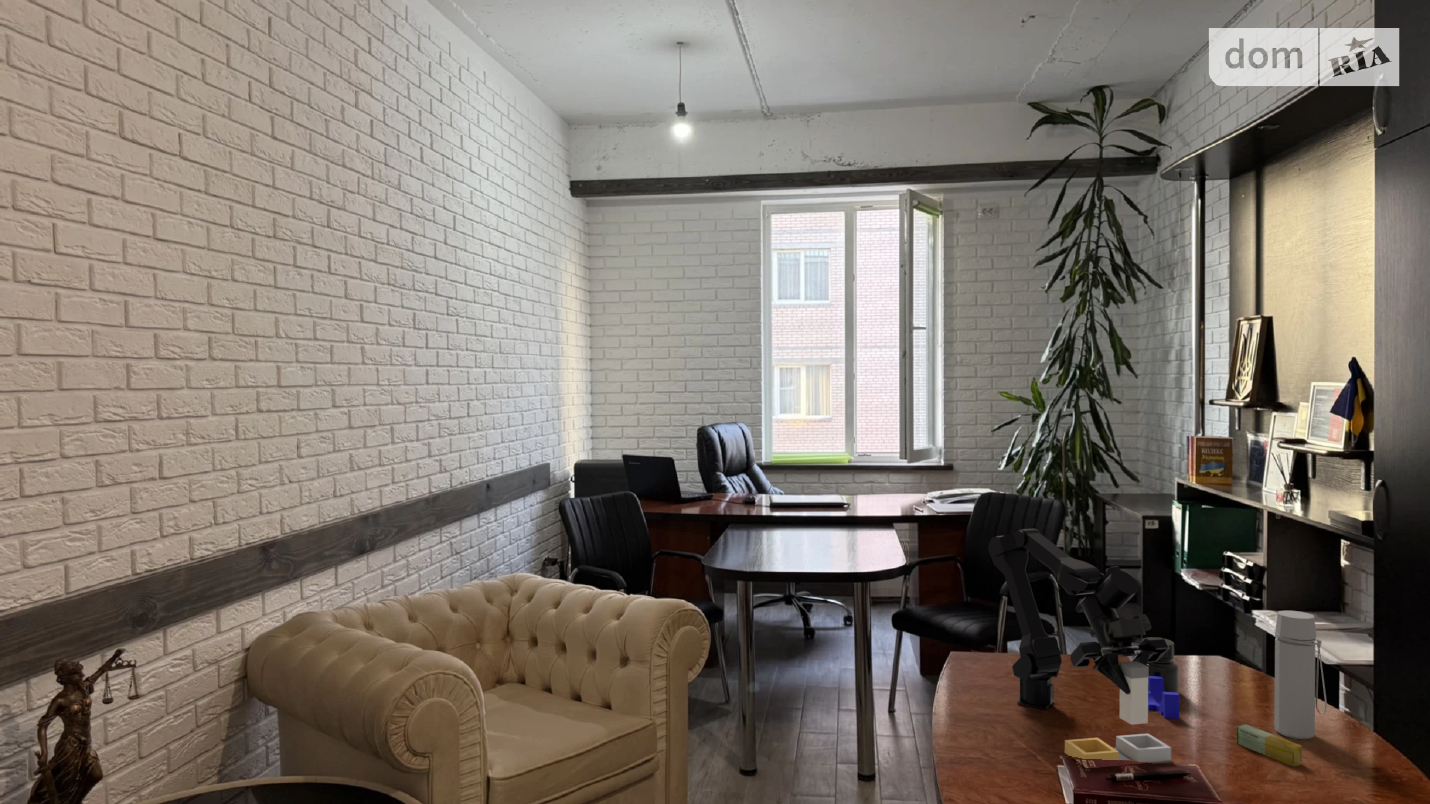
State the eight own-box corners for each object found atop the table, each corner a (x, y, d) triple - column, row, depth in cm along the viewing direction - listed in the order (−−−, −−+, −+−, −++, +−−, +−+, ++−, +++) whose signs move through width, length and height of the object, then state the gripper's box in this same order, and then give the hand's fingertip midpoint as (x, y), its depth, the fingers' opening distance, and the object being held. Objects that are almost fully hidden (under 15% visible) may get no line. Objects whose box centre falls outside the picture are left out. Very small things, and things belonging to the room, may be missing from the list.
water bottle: (1278, 738, 185) (1278, 617, 185) (1270, 724, 193) (1270, 608, 192) (1331, 744, 182) (1331, 621, 181) (1321, 730, 189) (1321, 611, 189)
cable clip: (1140, 701, 208) (1140, 675, 208) (1161, 702, 207) (1161, 676, 207) (1157, 721, 196) (1157, 693, 196) (1179, 722, 195) (1179, 694, 195)
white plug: (1130, 724, 175) (1131, 668, 174) (1119, 717, 178) (1119, 662, 178) (1148, 723, 175) (1148, 667, 175) (1136, 716, 179) (1136, 661, 179)
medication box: (1235, 744, 183) (1235, 725, 183) (1244, 742, 184) (1244, 722, 184) (1293, 768, 172) (1293, 747, 172) (1303, 765, 173) (1303, 744, 173)
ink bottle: (1182, 689, 215) (1183, 639, 214) (1179, 701, 207) (1179, 649, 207) (1138, 682, 220) (1138, 633, 220) (1132, 693, 212) (1132, 643, 212)
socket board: (1086, 772, 171) (1086, 755, 171) (1063, 754, 179) (1063, 739, 179) (1172, 764, 174) (1172, 748, 174) (1146, 747, 182) (1146, 732, 182)
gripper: (1078, 602, 178) (1112, 676, 168) (1163, 597, 182) (1202, 669, 171) (1056, 631, 186) (1087, 703, 176) (1138, 625, 190) (1173, 696, 179)
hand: (1138, 692), depth 175 cm, fingers closed on white plug, 4 cm apart
